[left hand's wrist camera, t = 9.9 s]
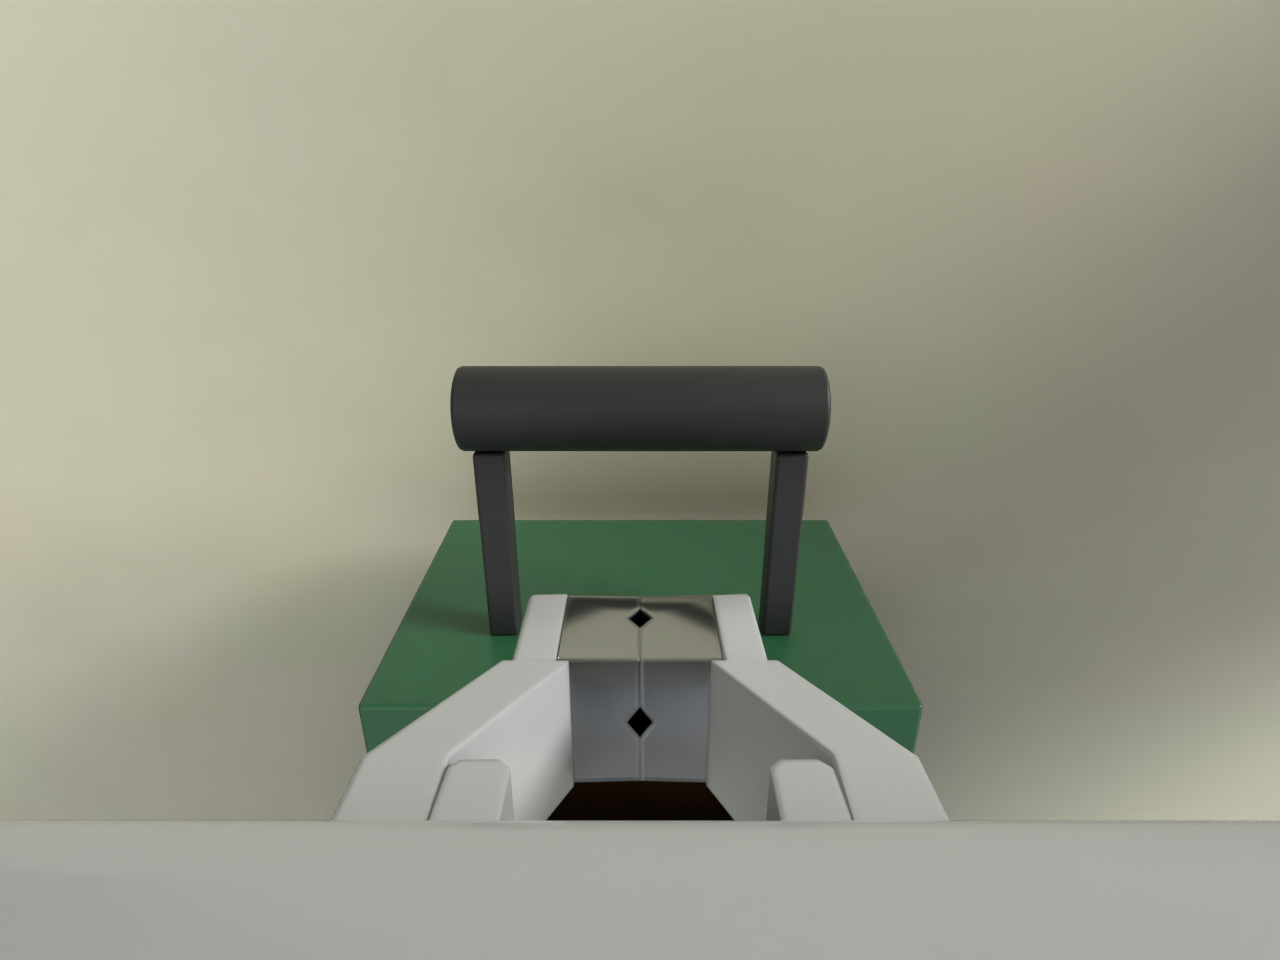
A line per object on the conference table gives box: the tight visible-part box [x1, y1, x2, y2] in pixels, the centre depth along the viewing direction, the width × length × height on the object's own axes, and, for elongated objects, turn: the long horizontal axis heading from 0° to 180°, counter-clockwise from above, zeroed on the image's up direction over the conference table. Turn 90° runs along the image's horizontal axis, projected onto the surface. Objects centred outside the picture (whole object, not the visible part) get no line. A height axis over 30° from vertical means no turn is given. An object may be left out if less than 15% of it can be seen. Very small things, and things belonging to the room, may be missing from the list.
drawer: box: [359, 366, 922, 821], centre depth 18 cm, size 19×10×7 cm, turn 0°
